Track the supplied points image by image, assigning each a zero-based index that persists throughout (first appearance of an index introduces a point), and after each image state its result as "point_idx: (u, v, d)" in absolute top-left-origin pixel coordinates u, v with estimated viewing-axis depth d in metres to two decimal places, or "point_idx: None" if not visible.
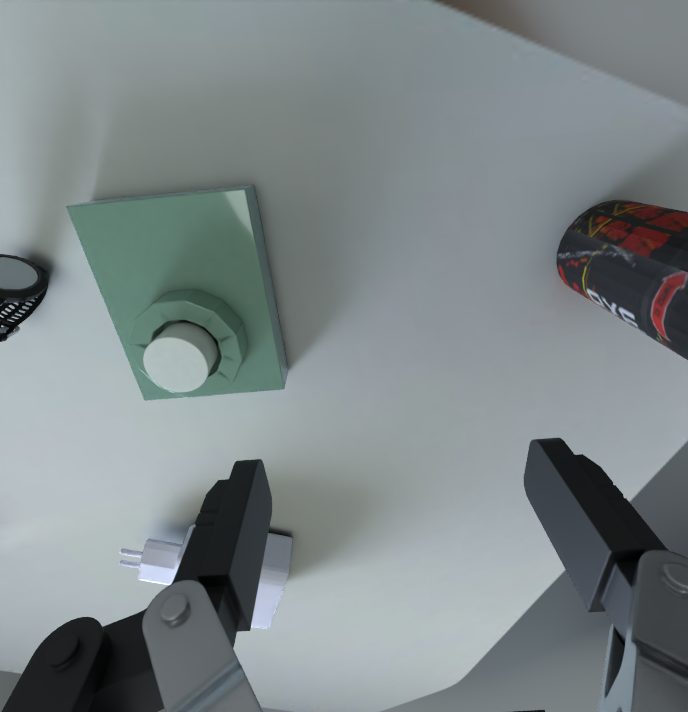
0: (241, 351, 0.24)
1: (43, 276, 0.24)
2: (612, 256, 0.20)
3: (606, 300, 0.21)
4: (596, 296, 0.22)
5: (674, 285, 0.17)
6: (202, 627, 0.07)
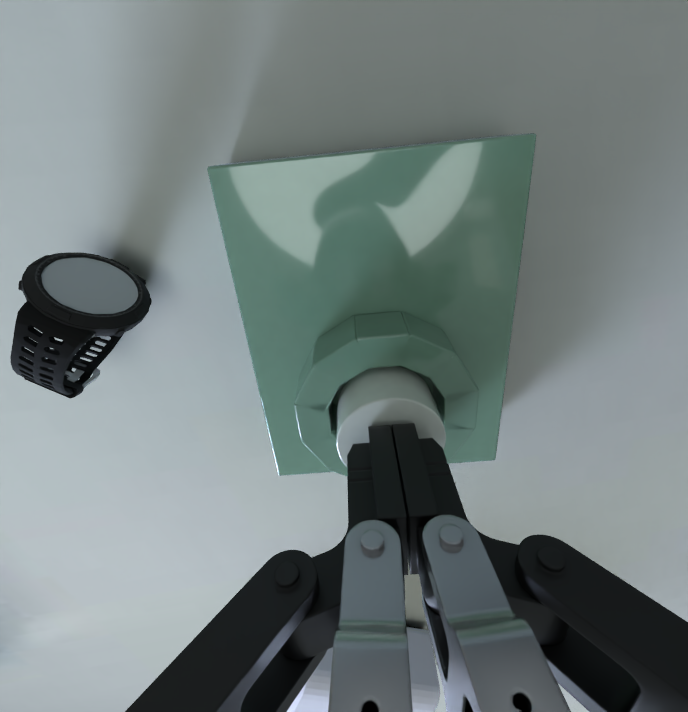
0: (474, 414, 0.14)
1: (145, 289, 0.14)
2: None
3: None
4: None
5: None
6: (387, 572, 0.08)
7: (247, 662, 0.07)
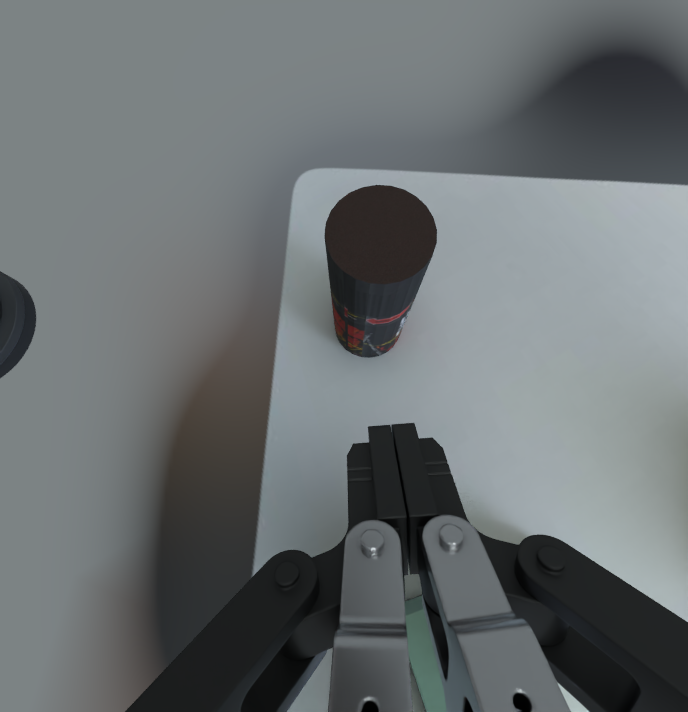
0: None
1: None
2: (370, 340, 0.29)
3: (399, 328, 0.30)
4: (399, 331, 0.31)
5: (375, 320, 0.25)
6: (387, 572, 0.08)
7: (247, 662, 0.07)
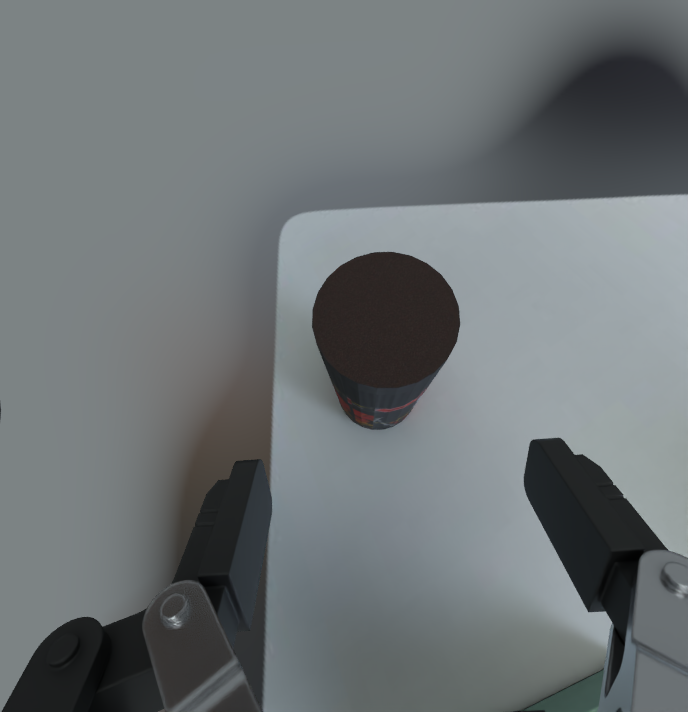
0: None
1: None
2: (381, 420, 0.24)
3: (415, 403, 0.24)
4: None
5: (387, 410, 0.20)
6: (202, 627, 0.07)
7: None
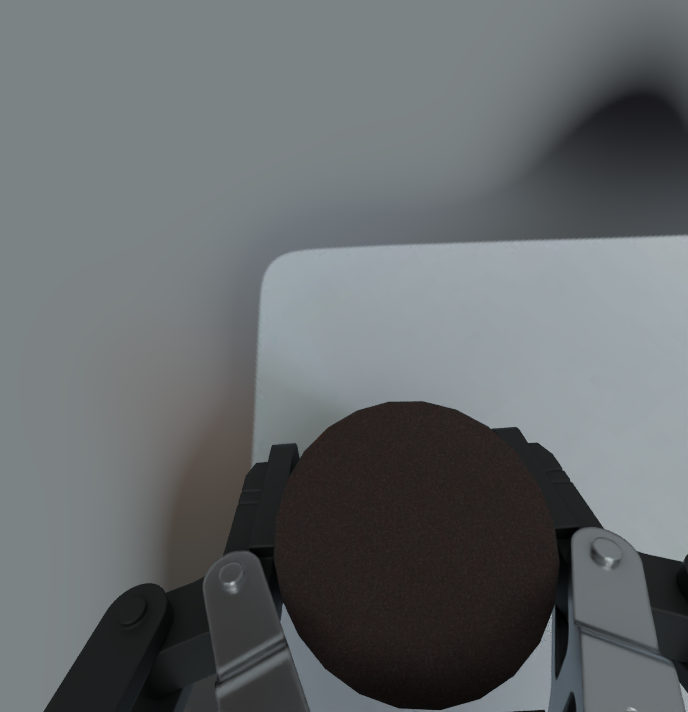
0: None
1: None
2: None
3: None
4: None
5: None
6: (255, 598, 0.08)
7: None
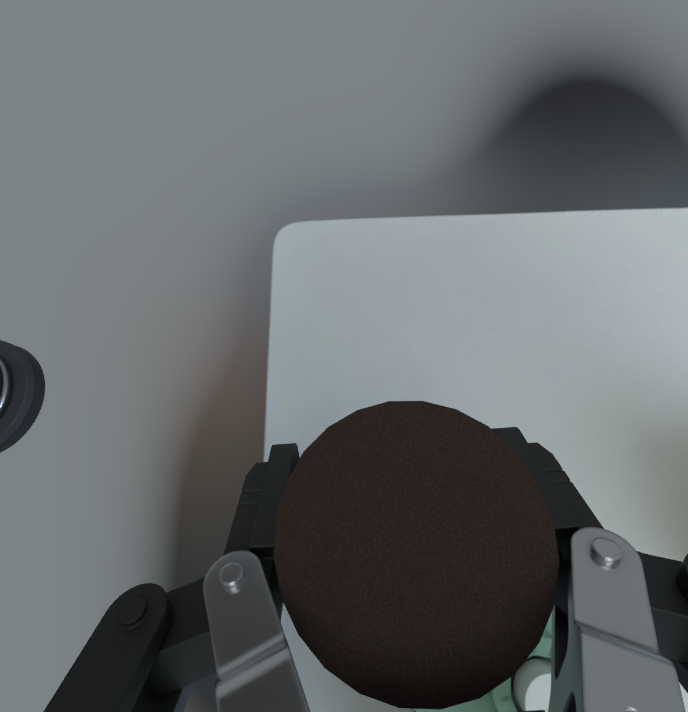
0: None
1: None
2: None
3: None
4: None
5: None
6: (255, 598, 0.08)
7: None
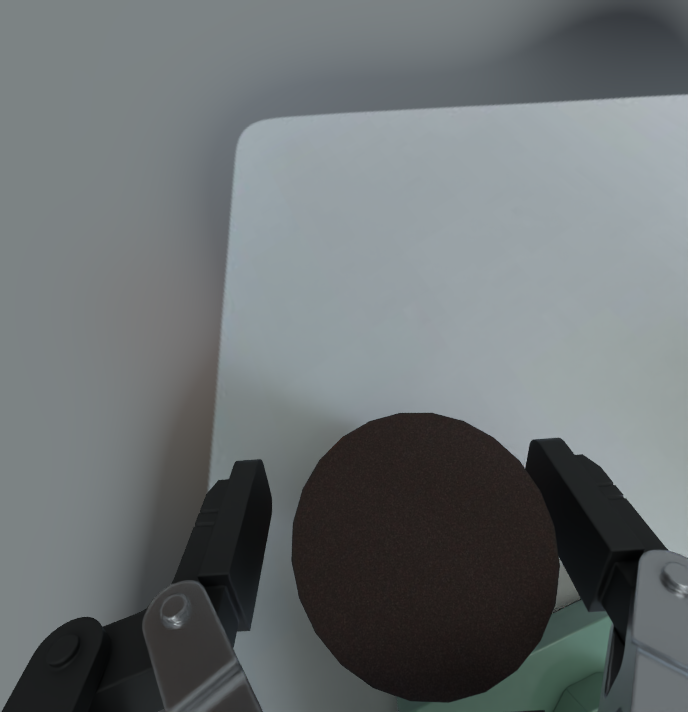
0: None
1: None
2: None
3: None
4: None
5: None
6: (202, 627, 0.07)
7: None
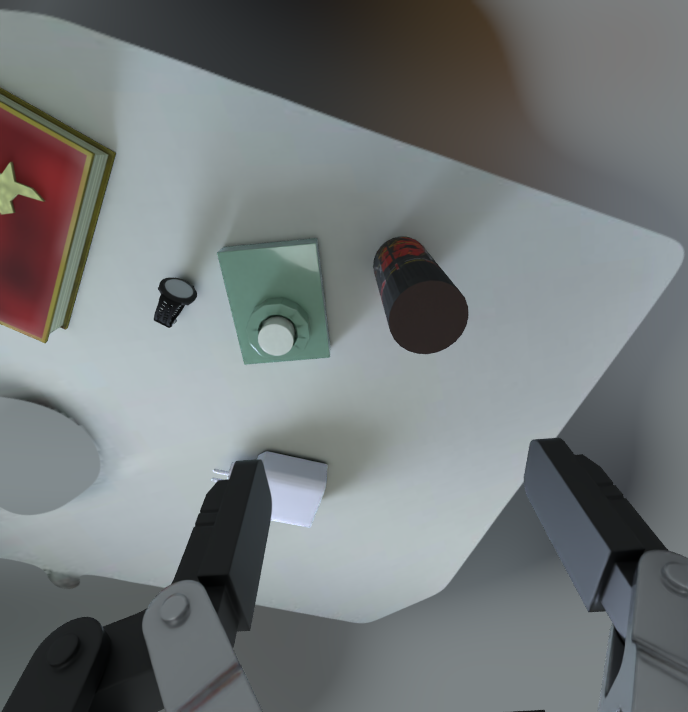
0: (309, 333, 0.41)
1: (195, 290, 0.42)
2: (379, 270, 0.37)
3: None
4: None
5: (383, 286, 0.34)
6: (202, 627, 0.07)
7: None
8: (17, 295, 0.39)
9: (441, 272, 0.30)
